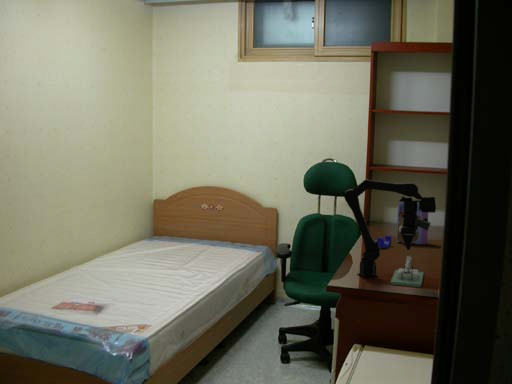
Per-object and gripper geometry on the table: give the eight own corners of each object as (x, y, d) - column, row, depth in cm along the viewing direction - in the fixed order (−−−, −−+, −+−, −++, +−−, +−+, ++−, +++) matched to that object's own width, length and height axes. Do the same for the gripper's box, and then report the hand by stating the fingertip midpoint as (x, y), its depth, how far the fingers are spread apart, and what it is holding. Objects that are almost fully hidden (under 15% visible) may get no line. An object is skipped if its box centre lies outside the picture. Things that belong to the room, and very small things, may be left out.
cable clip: (384, 249, 302) (384, 238, 302) (377, 248, 305) (377, 237, 305) (393, 246, 311) (393, 236, 311) (386, 245, 314) (386, 235, 314)
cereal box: (396, 243, 323) (398, 203, 321) (396, 241, 328) (397, 202, 326) (427, 244, 319) (428, 204, 318) (426, 243, 324) (427, 203, 322)
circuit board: (420, 287, 216) (421, 284, 216) (390, 284, 220) (390, 281, 220) (423, 274, 238) (423, 272, 238) (395, 272, 242) (395, 269, 242)
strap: (410, 274, 223) (410, 272, 223) (403, 273, 224) (403, 271, 223) (412, 258, 234) (412, 256, 233) (405, 257, 234) (405, 255, 234)
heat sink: (416, 280, 222) (416, 272, 222) (396, 278, 225) (397, 270, 224) (418, 274, 234) (418, 266, 234) (399, 272, 237) (399, 264, 237)
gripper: (429, 215, 218) (428, 253, 219) (430, 210, 236) (429, 245, 237) (400, 214, 222) (400, 251, 223) (404, 209, 239) (403, 244, 240)
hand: (409, 248), depth 231 cm, fingers open, 8 cm apart
